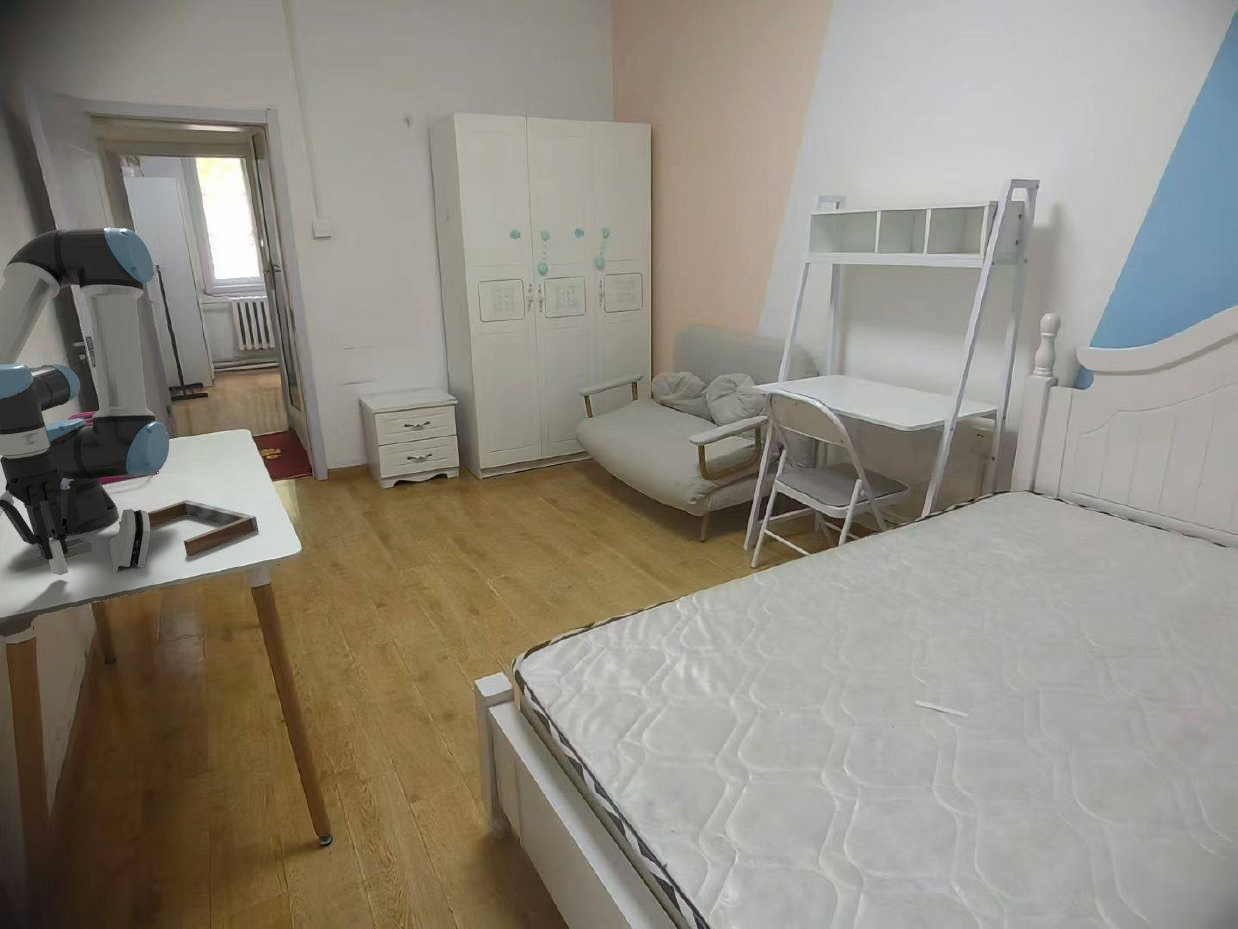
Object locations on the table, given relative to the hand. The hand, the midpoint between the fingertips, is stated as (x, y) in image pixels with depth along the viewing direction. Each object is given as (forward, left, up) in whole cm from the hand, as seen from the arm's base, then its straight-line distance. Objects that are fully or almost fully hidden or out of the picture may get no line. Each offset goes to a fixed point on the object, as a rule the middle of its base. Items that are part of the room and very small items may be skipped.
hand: (60, 572), depth 138 cm
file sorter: (-65, +44, -2) cm, 79 cm away
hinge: (+1, +13, -2) cm, 13 cm away
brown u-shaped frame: (0, +25, -1) cm, 25 cm away
